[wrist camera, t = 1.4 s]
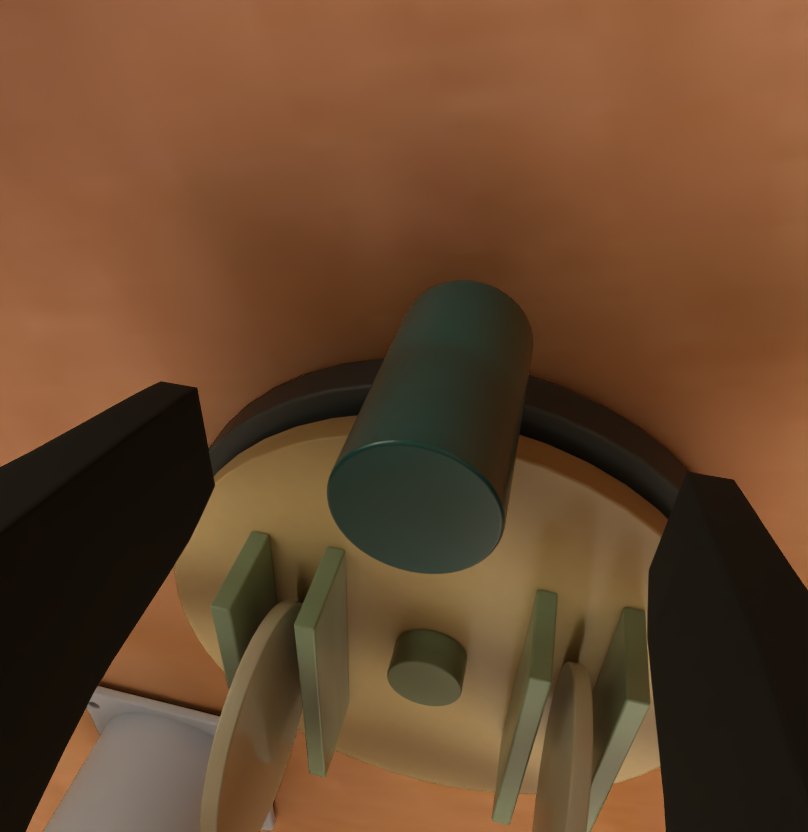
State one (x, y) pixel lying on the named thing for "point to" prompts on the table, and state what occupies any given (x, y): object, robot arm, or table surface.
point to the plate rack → (428, 589)
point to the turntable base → (542, 420)
